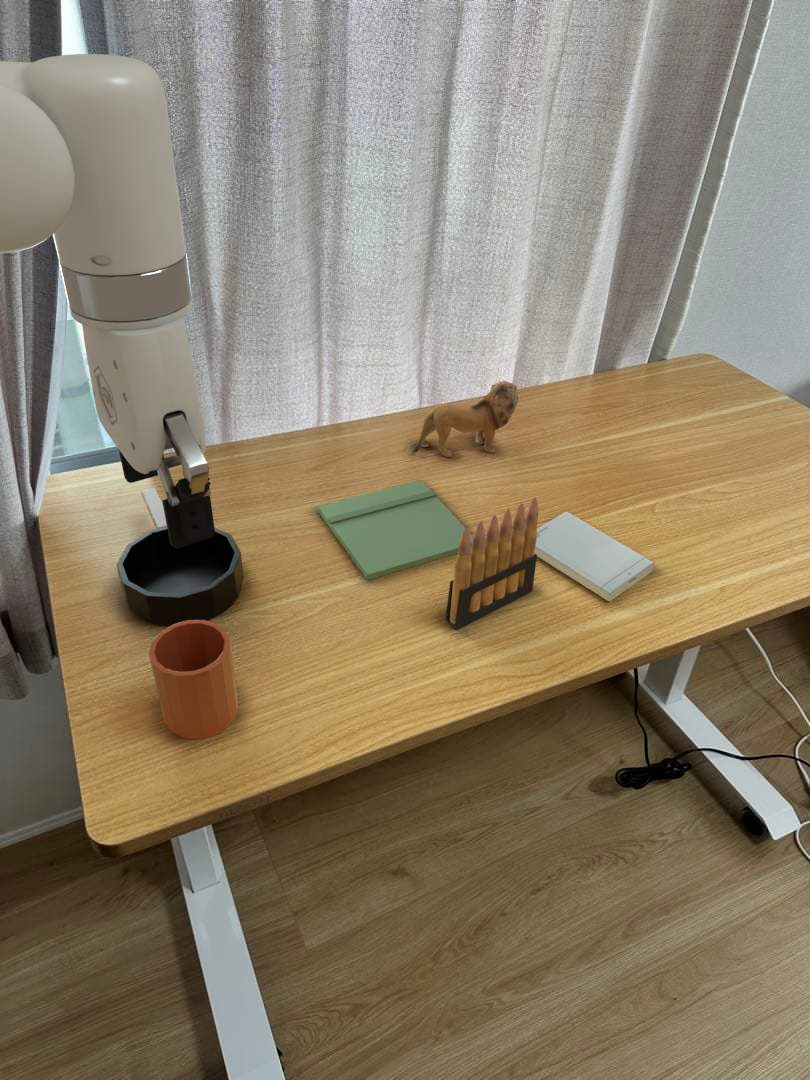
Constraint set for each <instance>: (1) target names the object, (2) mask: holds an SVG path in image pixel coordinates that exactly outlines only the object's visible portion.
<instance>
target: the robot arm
mask: <svg viewBox="0 0 810 1080" xmlns="http://www.w3.org/2000/svg"><path fill="white" fill-rule="evenodd" d="M167 104H168V103H167V98H166V93H165V87H164V85H163V82H162V81H161V78H160V77H159V75H158V73H157V72H156V70H155V69H154V68H153V67H151V65H149V64H148V63H146V62H144V61H142V60H141V59H140V60H139V59H137V58H134V57H130V56H124V55H123V56H122V55H115V54H103V53H76V54H62V55H56V56H48V57H43V58H41V59H38V60H35V61H31V62H30V61H6V60H0V254H8V253H9V254H10V253H17V252H22V251H24V250H28V249H30V248H31V249H32V248H35V247H36V246H38V245H40V244H41V243H44V242H45V241H46V240H48V239H49V238H50V237H53V243H54V245H55V250H56V255H57V259H58V264H59V268H60V272H61V277H62V281H63V282H62V283H63V285H64V290H65V295H66V299H67V305H68V307H69V313H70V315H71V318H73V320H74V321H76V322H77V323H79V324H80V325H81V327H82V335H83V342H84V348H85V353H86V359H87V365H88V372H89V377H90V382H91V383H90V384H91V388H92V394H93V399H94V400H93V401H94V405H95V409H96V414H97V417H98V420H99V422H100V424H101V426H102V428H104V431H105V432H106V433H107V435H108V436H109V438H110V439H111V441H112V442H113V443H114V445H115V446H116V447H117V449H118V455H119V458H120V463H121V468H122V472H123V476H124V477H123V478H124V479H125V481H126V482H127V483H129V484H134V483H136V482H140V481H144V480H146V479H151V478H154V477H157V476H158V477H159V478H158V479H159V481H160V484H161V486H162V488H163V491H164V495H165V496H166V498H165V499H161V501H162V503H163V507H164V513H165V518H166V524H167V529H168V535H169V540H170V544H171V545H172V546H173V548H175V549H178V548H181V547H184V546H187V545H190V544H193V543H196V542H199V541H202V540H205V539H208V538H211V537H213V536H214V534H215V528H216V527H215V521H214V514H213V506H212V500H211V495H212V492H211V491H212V490H211V487H210V486H211V484H212V483H211V482H210V480H211V479H210V477H209V475H210V468H209V464H208V463H209V462H208V461H207V460H206V457H205V453H206V449H207V446H206V445H207V444H206V442H207V441H206V431H205V422H204V421H205V420H204V415H203V408H202V402H201V396H200V390H199V385H198V379H197V374H196V370H195V365H194V364H195V363H194V359H193V354H192V348H191V345H190V341H189V336H188V332H187V327H186V324H185V323H186V322H185V318H184V317H185V316H187V315H188V314H189V312H191V311H192V309H193V306H194V300H193V295H192V287H191V279H190V271H189V263H188V256H187V255H188V254H187V250H186V244H185V236H184V235H185V234H184V228H183V220H182V213H181V212H182V211H181V204H180V196H179V189H178V181H177V174H176V173H177V172H176V166H175V165H176V164H175V159H174V151H173V142H172V135H171V134H172V133H171V128H170V119H169V118H170V117H169V110H168V105H167ZM171 449H173V450H174V452H175V454H174V455H171V456H167V457H165V455H164V454H165V453H164V452H165V451H167V450H171ZM178 466H179V467H180V466H181V469H182V476H183V478H180V479H178V480H177V482H176V484H175V482H174V480H173V477H172V475H171V471H170V469H172V468H175V467H178ZM214 527H215V528H214Z"/></svg>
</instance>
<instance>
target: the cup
mask: <svg viewBox="0 0 810 1080" xmlns="http://www.w3.org/2000/svg"><path fill="white" fill-rule="evenodd" d="M231 645H232V643H231V640H230V637H229V635H228V633H227V630H225V629H224V628H223V627H222V626H221V625H218V624H217V623H216V622H213V621H209V620H208V621H205V620H187V621H183V622H180V623H176V624H173V625H171V626H169V627H165V628H164V629H163V630H161V631H160V632H159V633H158V634H157V635H156V636H155V637H154V639H153V640H152V642H151V643H150V648H149V652H148V656H149V661H150V666H151V669H152V670H151V671H152V675H153V679H154V684H155V687H156V692H157V696H158V701H159V705H160V709H161V713H162V717H163V721H164V723H165V725H166V728H167V729H168V730H169V731H170V732H171V733H172V734H175V735H176V736H178V737H180V738H184V739H188V740H201V739H202V740H203V739H207V738H210V737H213V736H216V735H217V734H220V733H221V732H223V731H225V730H226V729H227V728H228V727H229V726H230V725H231V724H232V723H233V722H234V720H235V718H236V716H237V714H238V711H239V696H238V689H237V682H236V681H237V680H236V673H235V667H234V660H233V653H232V646H231Z"/></svg>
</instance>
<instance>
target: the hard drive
mask: <svg viewBox="0 0 810 1080" xmlns="http://www.w3.org/2000/svg"><path fill="white" fill-rule="evenodd" d="M534 554H536V555H537V558H539V559H540V560H542V561H544V562H545V563H547V564H548V565H550V566H552V567H553V568H555V569H556V570H558V571H559V572H561V573H563V574H565V575H566V576H568V577H569V578H571V579H572V580H574V581H575V582H577V583H578V584H581V585H582V586H583V587H585V588H587V589H588V590H589V591H591V592H593V593H595V594H596V595H597V596H599V597H601V598H602V599H604V600H606V601H607V602H611V601H613V600H614V599H615V598H617V597H618V596H620V595H621V594H623V593H624V592H626V591H627V590H628V589H630V588H631V587H633V586H635V584H638V582H640V581H641V580H642V579H644V578H646V577H647V576H649V575H650V574H651V573H652V572H653V571H654V567H655V564H656V563H655V562H654V561H652V560H651V559H649V558H647V557H646V556H644V555H643V554H641V553H639V552H637V551H635V550H634V549H632V548H630V547H629V546H628V545H626V544H624V543H622V542H620V541H619V540H617V539H615V538H613V537H612V536H610V535H609V534H607V533H605V532H603V531H601V530H599V529H598V528H596V527H594V526H592V525H591V524H589V523H588V522H586V521H585V520H582V519H581V518H579V517H577V516H576V515H574V514H572V513H571V512H568V511H565V512H563V513H561V514H559V515H558V516H556V517H554V518H552V519H551V520H549V521H548V522H545V523H544V524H542V525H541V526H540V527H537V540H536V546H535V552H534Z"/></svg>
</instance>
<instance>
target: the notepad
mask: <svg viewBox="0 0 810 1080" xmlns="http://www.w3.org/2000/svg"><path fill="white" fill-rule="evenodd" d="M317 510H318V511H317V512H318V513H319V515H320V516H321V518H322V519H323V520H324V522H325V523H326V525H327V526H328V527H329V529H330V530H331V532H332V533H333V535H334V536H335V537H336V539H337V540H338V541H339V543H340V544H341V546H342V547H343V548H344V550H345V551H346V552H347V554H348V555H349V557H350V559H352V561H353V562H354V564H355V565H356V567H357V568H358V569H359V571H360V572H361V574H362V576H364V578H365V579H366V581H371V580H373V579H377V578H380V577H384V576H386V575H389V574H394V573H396V572H400V571H404V570H406V569H410V568H413V567H417V566H420V565H423V564H426V563H431V562H433V561H436V560H440V559H443V558H447V557H450V556H453V555H456V554H458V549H459V543H460V539H461V536H462V533H463V531H464V529H465V528H466V527H465V526H464V525H463V523H462V522H461V521H460V520H459V519H458V518H457V517H456V516H455V514H453V513H452V511H451V510H450V509H449V508H448V507H447V506H446V505H445V504H444V503H443V502H442V501H441V500H440V499H439V498H438V497H437V493H436V492H435V491H434V490H431V489H430V487H428V486H427V485H426V483H425V482H424V481H423V480H420V479H419V480H417V481H413V482H409V483H405V484H401V485H396V486H393V487H390V488H384V489H382V490H377V491H373V492H370V493H369V492H368V493H365V494H361V495H357V496H354V497H350V498H346V499H342V500H337V501H334V502H330V503H326V504H322V505H318V506H317ZM470 535H471V547H472V543H473V537H474V534H472V533H471V532H470Z"/></svg>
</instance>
